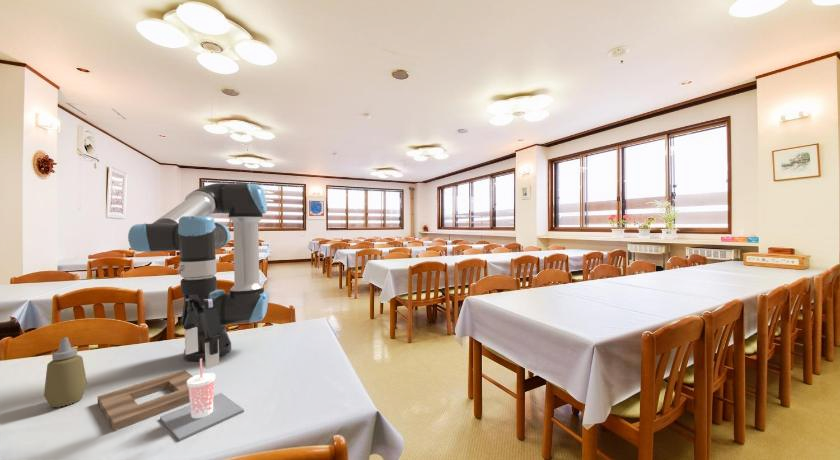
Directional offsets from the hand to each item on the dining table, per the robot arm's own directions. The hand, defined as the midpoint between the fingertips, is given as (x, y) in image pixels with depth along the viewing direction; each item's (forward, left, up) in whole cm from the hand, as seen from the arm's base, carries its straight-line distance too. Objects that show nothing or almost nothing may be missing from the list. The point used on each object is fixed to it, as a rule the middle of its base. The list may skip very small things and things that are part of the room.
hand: (201, 359), depth 82 cm
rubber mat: (0, 0, -14) cm, 14 cm away
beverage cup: (0, 0, -14) cm, 14 cm away
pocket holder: (-20, -5, -14) cm, 25 cm away
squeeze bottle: (-38, -20, -15) cm, 45 cm away
